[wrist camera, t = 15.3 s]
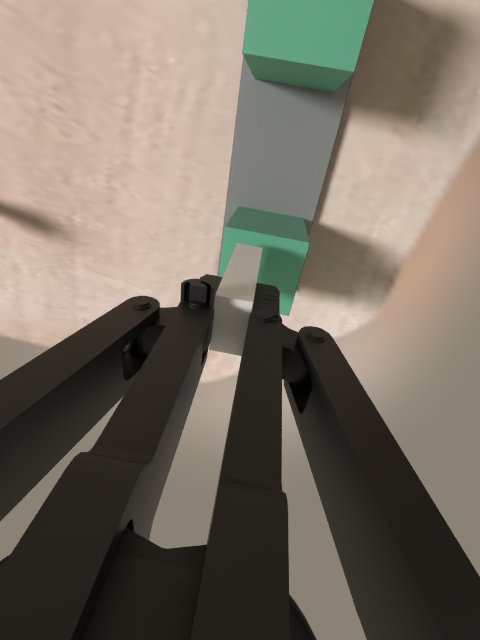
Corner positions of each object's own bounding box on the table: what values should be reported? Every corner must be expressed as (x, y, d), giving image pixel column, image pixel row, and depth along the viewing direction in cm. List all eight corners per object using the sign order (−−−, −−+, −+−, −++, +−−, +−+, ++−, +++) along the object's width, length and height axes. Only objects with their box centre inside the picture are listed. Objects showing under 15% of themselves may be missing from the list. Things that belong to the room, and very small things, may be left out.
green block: (230, 267, 26) (215, 301, 21) (238, 205, 23) (224, 226, 18) (287, 278, 26) (289, 315, 20) (303, 218, 23) (309, 242, 18)
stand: (218, 275, 27) (199, 313, 21) (257, -48, 17) (241, -155, 11) (292, 289, 27) (295, 332, 21) (379, -28, 17) (434, -126, 10)
